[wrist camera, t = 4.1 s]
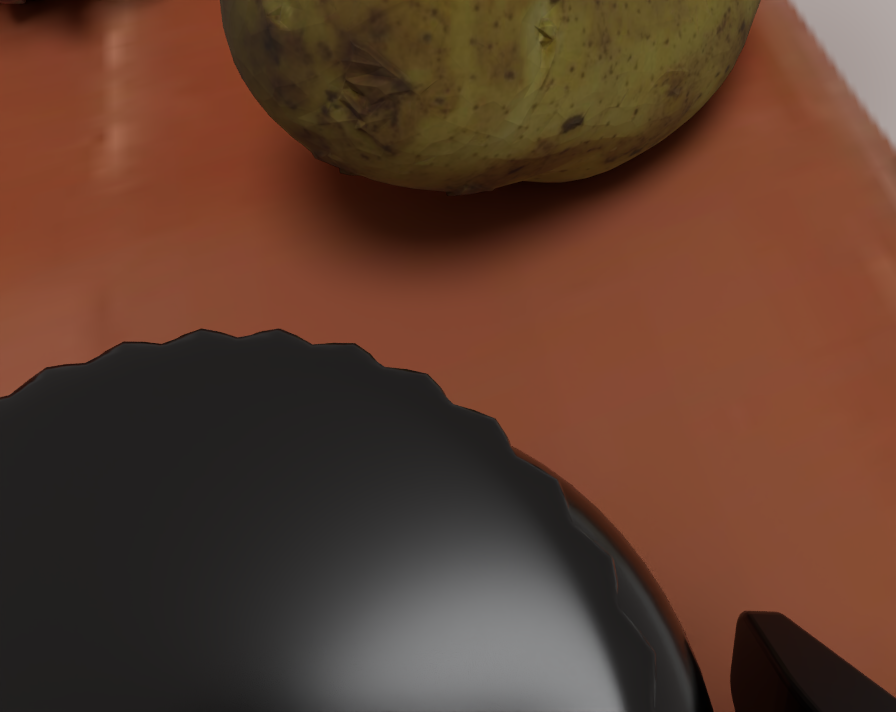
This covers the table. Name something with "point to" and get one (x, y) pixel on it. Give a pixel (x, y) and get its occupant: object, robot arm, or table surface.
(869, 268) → the table surface
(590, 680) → the supplement bottle
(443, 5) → the potato
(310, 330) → the table surface
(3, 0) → the dragon fruit
